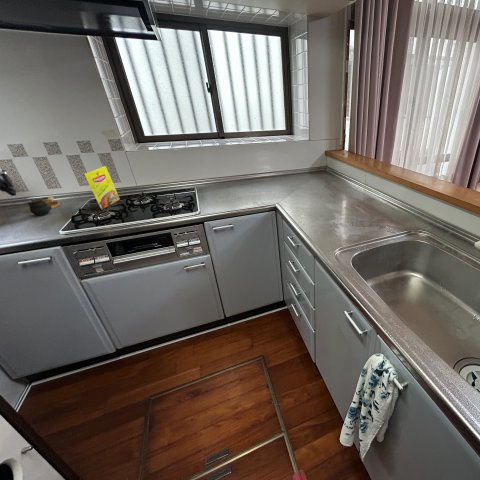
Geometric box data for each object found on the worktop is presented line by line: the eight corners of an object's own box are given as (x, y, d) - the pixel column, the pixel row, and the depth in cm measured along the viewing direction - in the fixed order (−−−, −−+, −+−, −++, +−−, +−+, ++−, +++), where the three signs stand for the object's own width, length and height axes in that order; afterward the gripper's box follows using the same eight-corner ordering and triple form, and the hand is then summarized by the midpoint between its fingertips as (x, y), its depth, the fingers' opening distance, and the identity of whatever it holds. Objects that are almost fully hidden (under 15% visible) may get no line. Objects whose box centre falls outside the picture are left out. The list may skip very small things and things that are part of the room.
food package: (102, 209, 146) (85, 173, 136) (100, 209, 146) (83, 173, 136) (120, 199, 159) (106, 165, 149) (118, 199, 159) (104, 165, 149)
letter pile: (33, 210, 146) (28, 201, 143) (48, 204, 154) (42, 195, 151) (51, 210, 146) (45, 201, 143) (64, 203, 154) (59, 195, 151)
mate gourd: (51, 210, 146) (41, 193, 141) (52, 214, 142) (42, 196, 137) (33, 214, 142) (22, 196, 137) (34, 218, 137) (23, 200, 132)
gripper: (-54, 176, 99) (-5, 202, 121) (-6, 171, 104) (33, 197, 126) (-56, 158, 101) (-7, 188, 122) (-9, 155, 106) (31, 183, 127)
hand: (13, 193), depth 124 cm, fingers closed
